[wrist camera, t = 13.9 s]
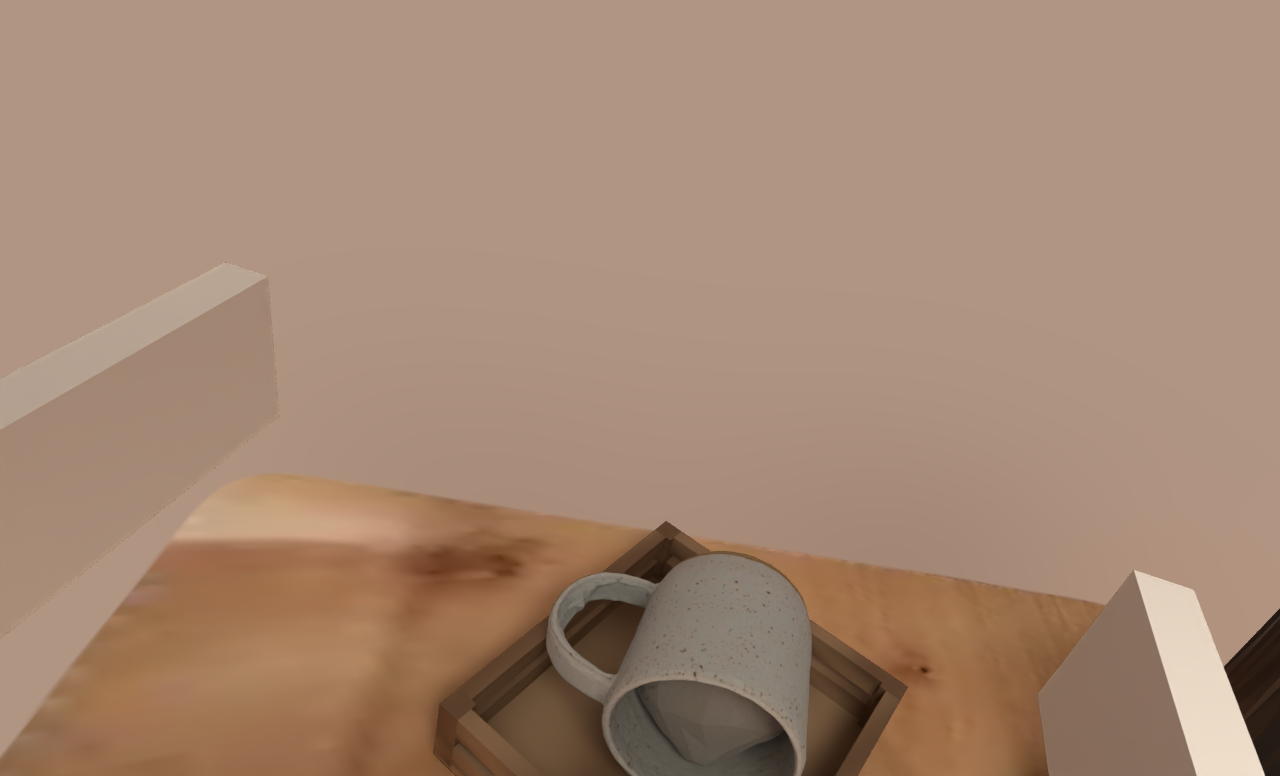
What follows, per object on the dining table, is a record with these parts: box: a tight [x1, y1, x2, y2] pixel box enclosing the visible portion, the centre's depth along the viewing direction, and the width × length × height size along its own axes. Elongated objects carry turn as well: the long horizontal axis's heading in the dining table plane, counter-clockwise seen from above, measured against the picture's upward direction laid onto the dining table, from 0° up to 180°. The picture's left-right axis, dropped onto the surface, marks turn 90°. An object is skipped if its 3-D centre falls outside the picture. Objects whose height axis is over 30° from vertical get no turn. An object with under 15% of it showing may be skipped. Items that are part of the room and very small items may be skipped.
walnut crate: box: [433, 521, 908, 776], centre depth 35 cm, size 14×15×3 cm
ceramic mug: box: [546, 551, 812, 776], centre depth 33 cm, size 11×8×8 cm
